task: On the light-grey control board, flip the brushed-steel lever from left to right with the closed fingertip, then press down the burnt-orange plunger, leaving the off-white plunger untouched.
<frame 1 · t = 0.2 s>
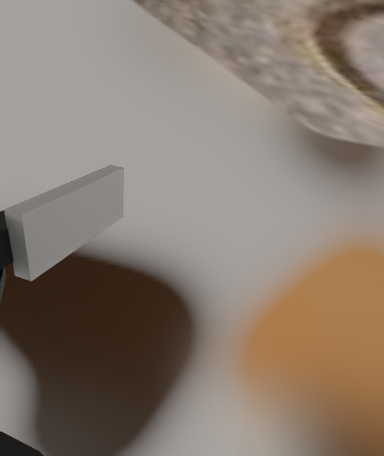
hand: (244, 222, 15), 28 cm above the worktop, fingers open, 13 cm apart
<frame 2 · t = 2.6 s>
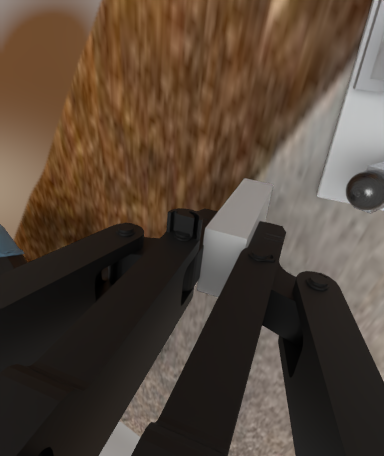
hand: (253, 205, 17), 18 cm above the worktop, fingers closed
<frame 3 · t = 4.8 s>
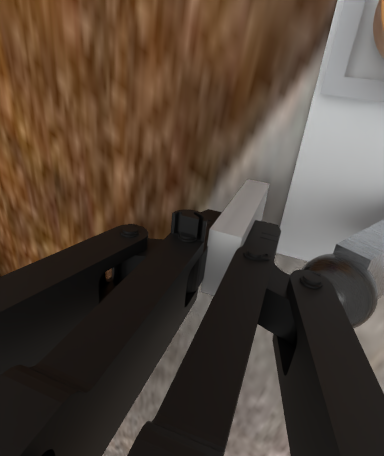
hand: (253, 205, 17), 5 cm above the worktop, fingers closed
lever: (381, 258, 14), point 8 cm above the worktop, hinge at -29.0°, touching gripper
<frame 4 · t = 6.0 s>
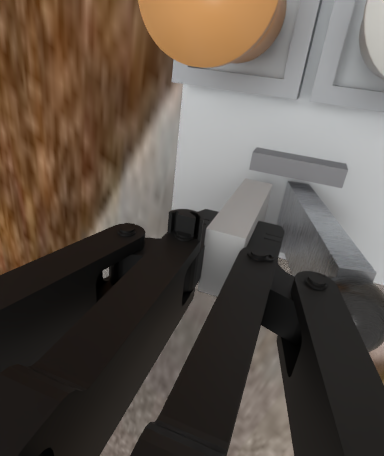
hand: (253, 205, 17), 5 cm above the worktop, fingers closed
lever: (315, 252, 15), point 8 cm above the worktop, hinge at 15.3°, touching gripper
plunger orange: (224, 0, 12), point 8 cm above the worktop, slide at 0.0 cm
panel: (311, 112, 20), on the worktop
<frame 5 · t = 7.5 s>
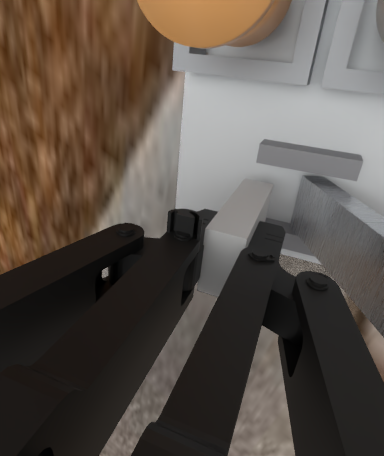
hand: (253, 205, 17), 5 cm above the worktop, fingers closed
lever: (362, 253, 13), point 8 cm above the worktop, hinge at 28.3°
panel: (322, 100, 18), on the worktop
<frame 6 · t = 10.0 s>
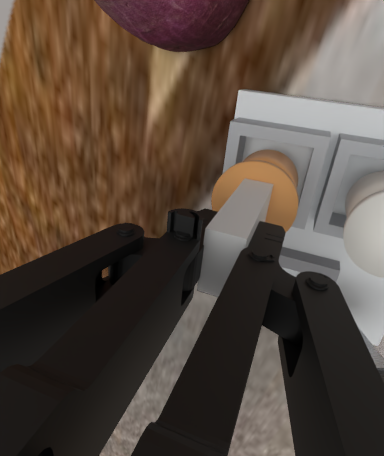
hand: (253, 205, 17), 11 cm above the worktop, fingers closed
lever: (337, 337, 22), point 8 cm above the worktop, hinge at 28.3°
plunger orange: (260, 191, 20), point 8 cm above the worktop, slide at 0.0 cm, touching gripper
panel: (314, 218, 27), on the worktop
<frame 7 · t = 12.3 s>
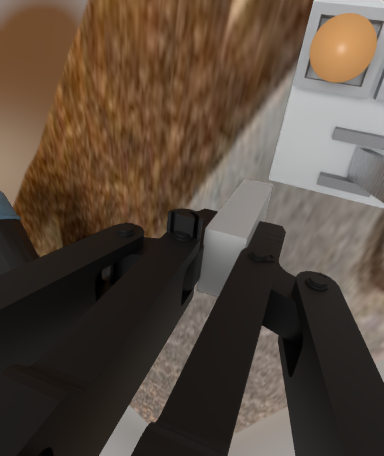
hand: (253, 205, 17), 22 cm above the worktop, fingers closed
plunger orange: (341, 50, 27), point 5 cm above the worktop, slide at 2.6 cm
panel: (370, 105, 32), on the worktop
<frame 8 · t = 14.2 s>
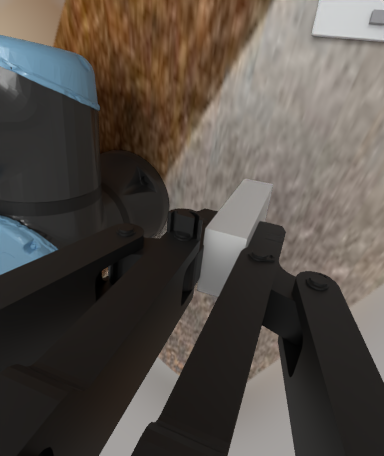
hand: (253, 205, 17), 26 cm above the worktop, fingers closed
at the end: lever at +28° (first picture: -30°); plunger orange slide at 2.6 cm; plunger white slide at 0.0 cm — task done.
